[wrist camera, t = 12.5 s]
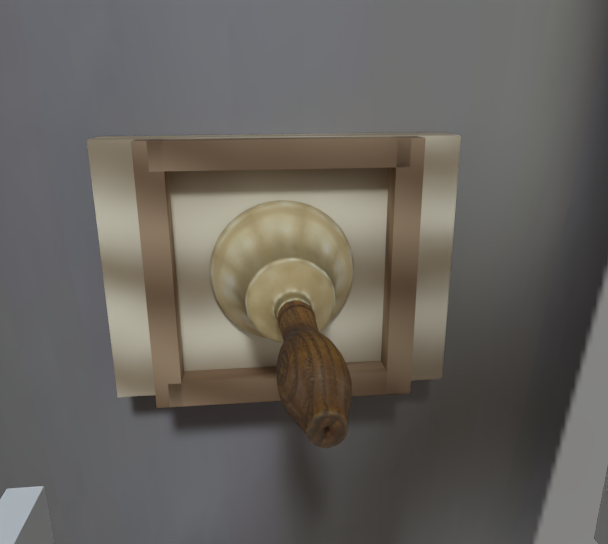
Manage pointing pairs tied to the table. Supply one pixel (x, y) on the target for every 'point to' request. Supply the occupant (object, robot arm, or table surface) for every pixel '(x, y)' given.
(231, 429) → the table surface
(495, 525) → the table surface
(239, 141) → the stand
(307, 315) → the hand bell
